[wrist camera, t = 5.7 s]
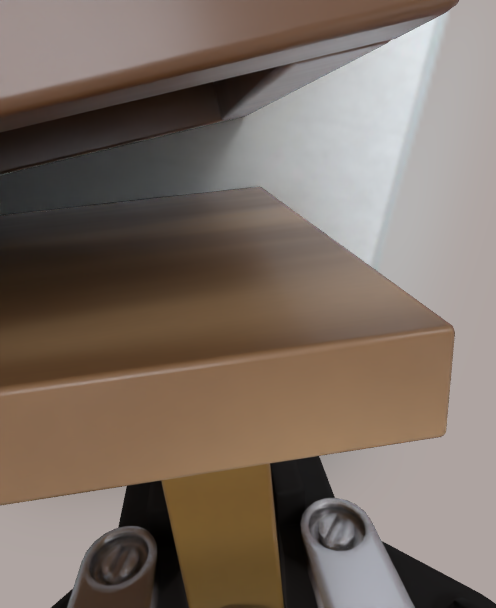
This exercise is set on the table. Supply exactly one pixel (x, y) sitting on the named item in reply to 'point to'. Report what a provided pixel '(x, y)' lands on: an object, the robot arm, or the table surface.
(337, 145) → the table surface
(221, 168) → the table surface
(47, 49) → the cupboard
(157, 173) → the table surface
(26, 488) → the cupboard door
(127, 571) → the robot arm
